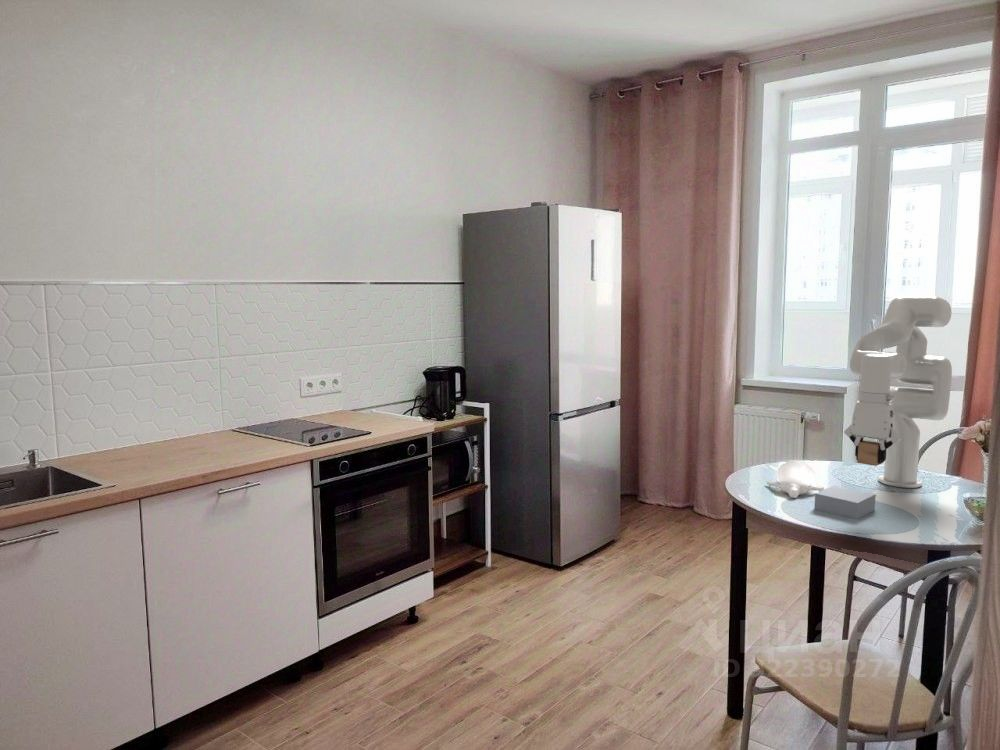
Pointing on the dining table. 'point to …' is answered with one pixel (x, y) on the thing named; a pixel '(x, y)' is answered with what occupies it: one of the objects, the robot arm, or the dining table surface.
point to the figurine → (795, 478)
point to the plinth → (845, 502)
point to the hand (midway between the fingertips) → (870, 460)
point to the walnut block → (868, 452)
